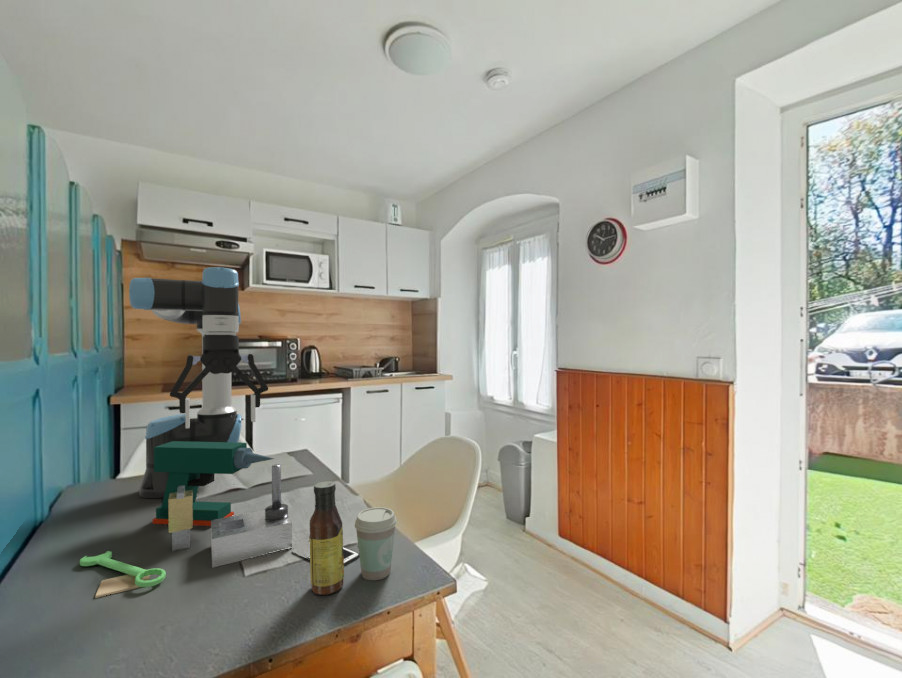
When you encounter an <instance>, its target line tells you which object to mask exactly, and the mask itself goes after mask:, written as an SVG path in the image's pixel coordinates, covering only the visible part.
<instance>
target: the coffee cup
mask: <svg viewBox="0 0 902 678" xmlns="http://www.w3.org/2000/svg"><path fill="white" fill-rule="evenodd" d="M397 524H398V520H397V517H396V515H395V512H394V510H392V509H390V508H388V507H381V506H380V507H379V506H377V507H375V506H374V507H369V508H366V509H363V510H361V511H359V513H357V516H356V519H355V521H354V528H355V530H356V538H357V546H358V547H357V548H358V553H359V556H360V557H359V562H360V563H359V564H360V571H361V576H362V577H363V579H365V580H367V581H380V580H383V579H385V578H387V577H389V575H391V574H390V573H391V571H392V560H393V551H394V542H395V530H396V526H397Z"/></svg>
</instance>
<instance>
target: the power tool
mask: <svg viewBox="0 0 902 678" xmlns="http://www.w3.org/2000/svg"><path fill="white" fill-rule="evenodd" d="M247 445H248V443H247V442H238V443H237V442H185V441H172V442H169V443H166V444H162V445H159V446H156V447H154V472H169V476H168V480H167V485H166V489H165V494H164V497H163V499H162V502H161V503H162V504H161V505H159V506H158V507H156V508H155V517H154V518H153V519H152V524H153V525H157V524H158V525H169V501H168V500H169V495H170V493H176V492H177V489H178V486H183V485H185V491H188V490H193V526H207V527H211V520H215V519H220V518H225V517H230V516H232V515H234V516H235V512H234V511H232V502H227V501H226V502H225V501H224V502H221V501H197V495H198V491H199V487H206V486H208V485H209V484H211V483H213V482H214V481H215V474H217V475H233V474H235V473H238V472H239V471H241V470H243V469H244V470H245V469H249V467H251V465H252V464H256V463H260V462H261V463H262V462H266V461H270V460H275V458H274V457H269V456H266V455H263V454H257V453H254V452H253V451H254V450H252V448H251V447H247Z"/></svg>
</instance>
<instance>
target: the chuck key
mask: <svg viewBox="0 0 902 678" xmlns="http://www.w3.org/2000/svg"><path fill="white" fill-rule="evenodd" d="M168 501H169V524H168V533H169V534H171V549H172V550H171V551H172V552H175V551H180V550H184V549H188V548H189V549H190V547H191V529H193V528H194V525H193V490H188V491H185V485H183V486H178V489H177V492H176V493H170V495H169V500H168Z"/></svg>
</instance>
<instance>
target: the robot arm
mask: <svg viewBox="0 0 902 678" xmlns="http://www.w3.org/2000/svg"><path fill="white" fill-rule="evenodd" d="M201 277H202V279H201V280H190V279H189V280H187V279H185V280H184V279H180V280H179V279H170V278H169V279H167V278H166V279H165V278H155V277H154V278H152V277H133V278H131V280H130V282H129V289H128V290H129V293H128V294H129V295H128V296H129V304H130V306H131V308H133V309H134V310H144V311H151V312H152V314H154V315H155V316H156V317H158V318H159V319H161V320H163V321H164V320H165V321H168V322H172V323H176V324H177V323H178V324H184V325H196V331H197V332H198V333H200V334H201V343H202V345H201V347H202V349H201V350H202V351H201V356H200V355H199V356H198V355H197V356H196V355H192V354H189V355H188V356H186V365H185V366H184V368H183V370H182V372H180V375H179V377H178V378H177V380H176V382H175V384H174V385H173V387H172V388H171V391H170V393H169V397H170V398H176V399H178V401H179V409H178V410H179V413H180V414H174V415H173V414H172V415H168V416H163V417H160V418H157V419H154V420H152V421H150V422H149V423H148V424H147V426H146V428H145V429H146V432H145V436H144V437H145V450H146V451H145V454H146V455H145V464H146V465H145V472H144V474H143V477H142V480H141V482H140V485H139V489H138V491H139V492H138V493H139V495H138V496H139V497H140V498H144V499H162V498H164V494H165V489H166V485H167V480H168V476H169V472H154V447H156V446H159V445H162V444H166V443H169V442H172V441H185V442H237V443H240V442H239V441H240V437H241V431H242V430H241V429H242V415H241V414H239V413H238V411H237V408H236V407H234V406H233V403H232V399H233V398H232V396H233V395H232V372H234V373H235V374H236V376H237V377H238V378H239V379H240V380H242V382H243V383H245V385H246V386H247V387H248V388H249V389H250V390H251V391H252V392H253V393H250V421H251V423H256V408H260V406H261V395H262V393H265V392H267V391H269V387H268V384H266V382H265V380H264V378H263V376H262V374H261V373H260V371H259V369H258V367H257V365H256V364H255V359H254V355H253V354H252V353H248V354H244V355H241V354H240V349H239V348H240V346H239V345H240V341H239V340H240V339H239V338H240V336H239V335H238V334H237V333H239V330H240V329H239V328H240V327H239V326H240V324H242V320H241V319H242V318H241V309H240V303H239V287H240V282H239V273H238V271H237V270H236V269H233V268H228V267H217V266H215V267H213V266H212V267H206V268H204V269H203V271H202V276H201ZM241 361H243V362H244V364H248V367H249V369H250V370H251V372H252V374H253V375H254V378H255V379H256V381H257V382H258V384H259V386H260V387H257V385H255V383H254V382H252V381H251V379H250V378H248V377H247V375H245V374H244V373H243V372H242V370H241V369H239V368H238V365H239V364H240V362H241ZM198 362H201V363H202V365H201V366H202V367H201V369H202V370H201V371H200V373H198V375H196V377H194V379H193V380H192V381H191V382H190V383H189V384H188V385H187V386H186V387H185V388H184V390H183V391H182V392H181V391H180V389H181V387H182V386H183V383H184V382H185V380H186V378H187V377H188V375H189V373H190V372H191V369H192V367H193V366H196V365H197V363H198ZM201 382H202V383H201ZM200 383H201V384H202V385H201V386H202V394H201V395H202V398H201V399H202V407H201V408H200V409H199V410H198V411H197V412H196V413H197V414H196V418H195V417H194V418H193V417H192V418H191V416H190V415H191V414H190V413H191V412H190V407H191V406H190V404H191V403H190V402H191V401H190V400H191V399H190V397H188V395H189V394H190V393H192V391H193V390H194V389H195V388H196V387H197V386H198V385H199V384H200Z"/></svg>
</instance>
